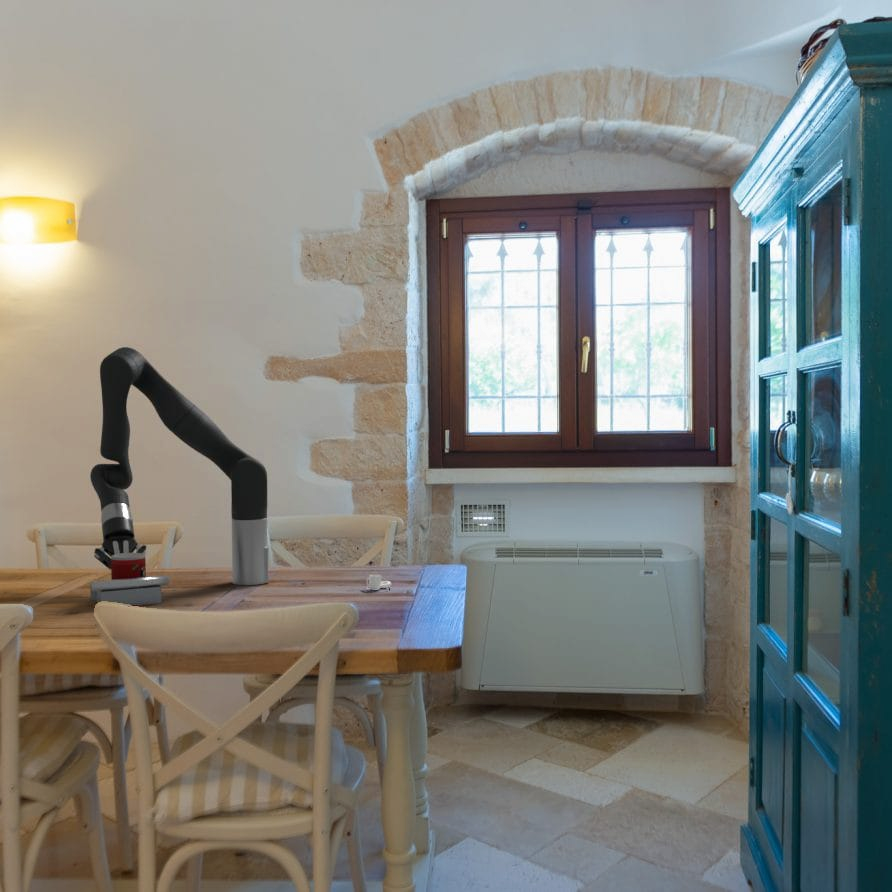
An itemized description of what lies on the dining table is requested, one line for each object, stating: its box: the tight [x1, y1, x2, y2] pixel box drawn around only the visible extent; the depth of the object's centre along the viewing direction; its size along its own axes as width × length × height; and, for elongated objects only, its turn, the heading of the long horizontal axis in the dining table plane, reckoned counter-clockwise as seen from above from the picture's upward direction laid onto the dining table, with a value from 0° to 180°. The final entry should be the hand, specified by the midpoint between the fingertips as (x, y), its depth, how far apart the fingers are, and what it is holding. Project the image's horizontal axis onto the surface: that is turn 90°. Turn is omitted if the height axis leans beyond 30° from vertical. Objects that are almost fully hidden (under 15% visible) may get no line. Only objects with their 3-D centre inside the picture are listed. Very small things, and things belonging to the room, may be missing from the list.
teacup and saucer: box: [365, 573, 392, 590], centre depth 227 cm, size 9×8×4 cm
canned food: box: [110, 552, 147, 580], centre depth 215 cm, size 8×8×11 cm
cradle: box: [89, 574, 170, 606], centre depth 214 cm, size 17×14×6 cm
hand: (123, 580), depth 219 cm, fingers closed
